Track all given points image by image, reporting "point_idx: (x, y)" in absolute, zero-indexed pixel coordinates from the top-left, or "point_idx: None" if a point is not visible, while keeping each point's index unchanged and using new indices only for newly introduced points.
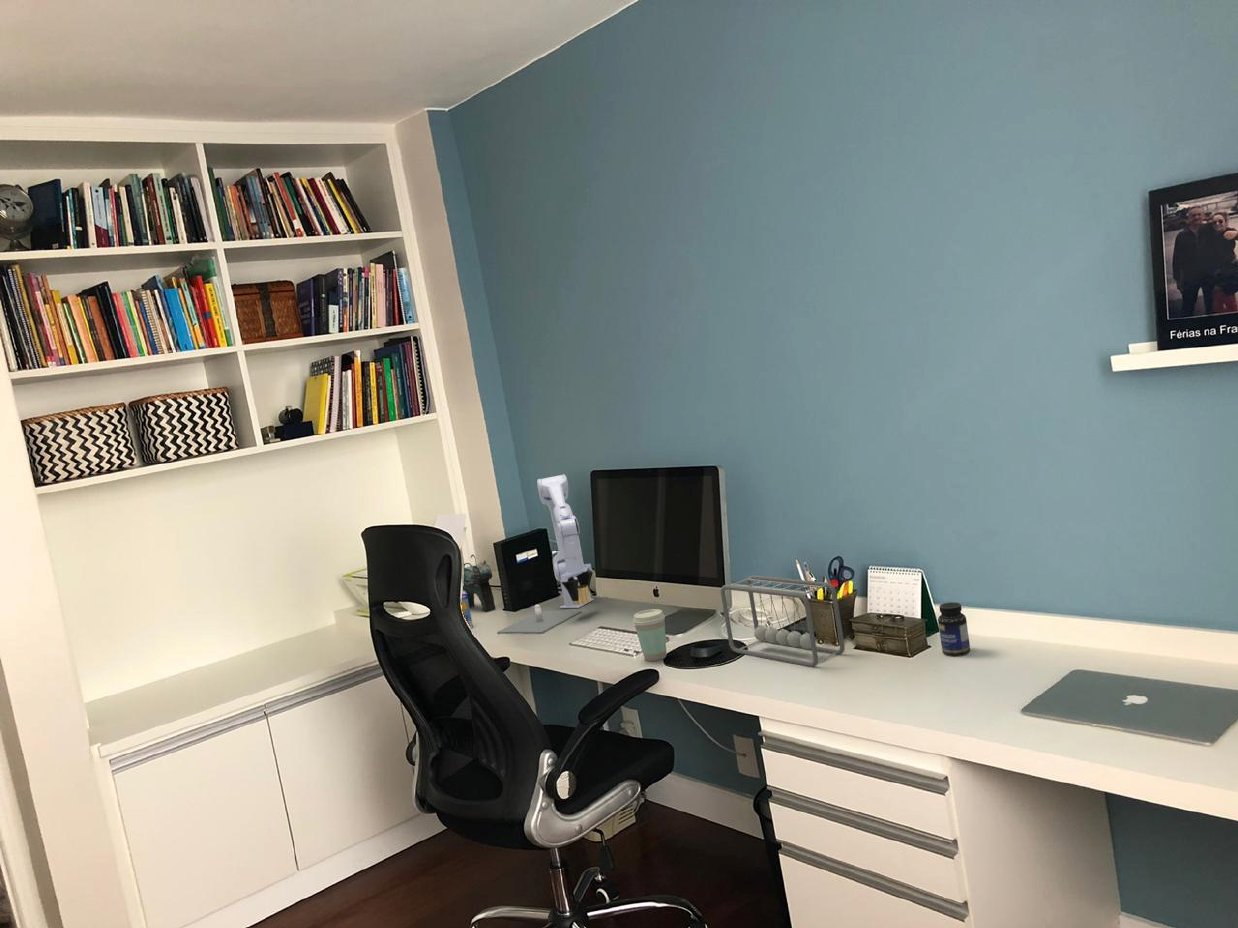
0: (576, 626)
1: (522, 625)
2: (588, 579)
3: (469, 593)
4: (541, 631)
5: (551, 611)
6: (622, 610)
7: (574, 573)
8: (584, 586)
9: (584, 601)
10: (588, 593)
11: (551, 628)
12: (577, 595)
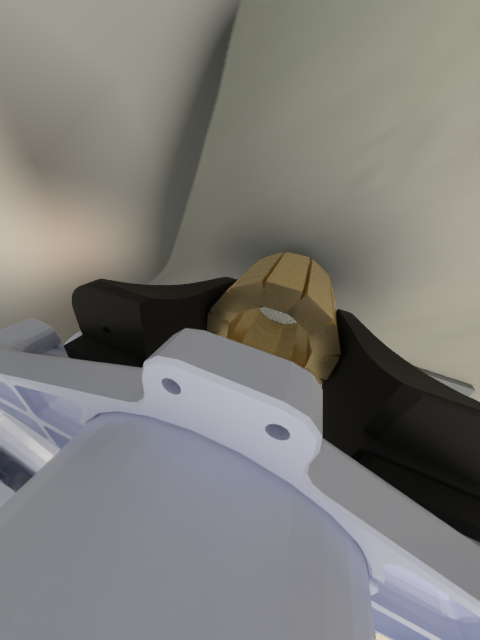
0: (448, 265)
1: None
2: (185, 297)
3: None
4: (462, 392)
5: None
6: (232, 89)
7: (476, 576)
8: (269, 304)
9: (323, 274)
10: (279, 263)
11: None
12: (358, 323)
